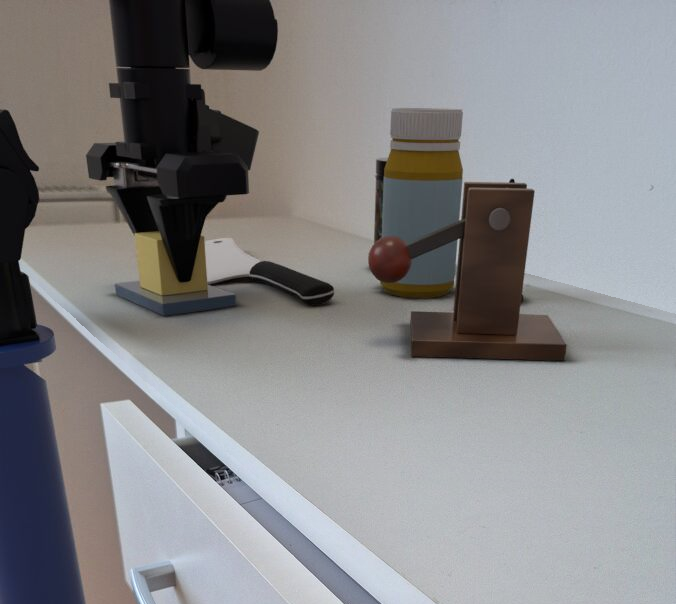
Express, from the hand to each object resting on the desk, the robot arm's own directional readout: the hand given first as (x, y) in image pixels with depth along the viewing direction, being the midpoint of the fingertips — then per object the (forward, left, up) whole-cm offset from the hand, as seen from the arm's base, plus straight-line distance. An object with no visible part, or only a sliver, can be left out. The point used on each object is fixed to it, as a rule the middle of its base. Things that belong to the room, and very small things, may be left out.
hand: (172, 277), depth 73 cm
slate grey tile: (0, 0, -2) cm, 2 cm away
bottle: (+21, -9, -2) cm, 23 cm away
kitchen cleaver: (+10, +7, -2) cm, 12 cm away
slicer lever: (+11, -24, +4) cm, 27 cm away
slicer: (+13, -26, -2) cm, 29 cm away
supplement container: (+27, 0, -2) cm, 27 cm away
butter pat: (0, 0, -1) cm, 1 cm away
